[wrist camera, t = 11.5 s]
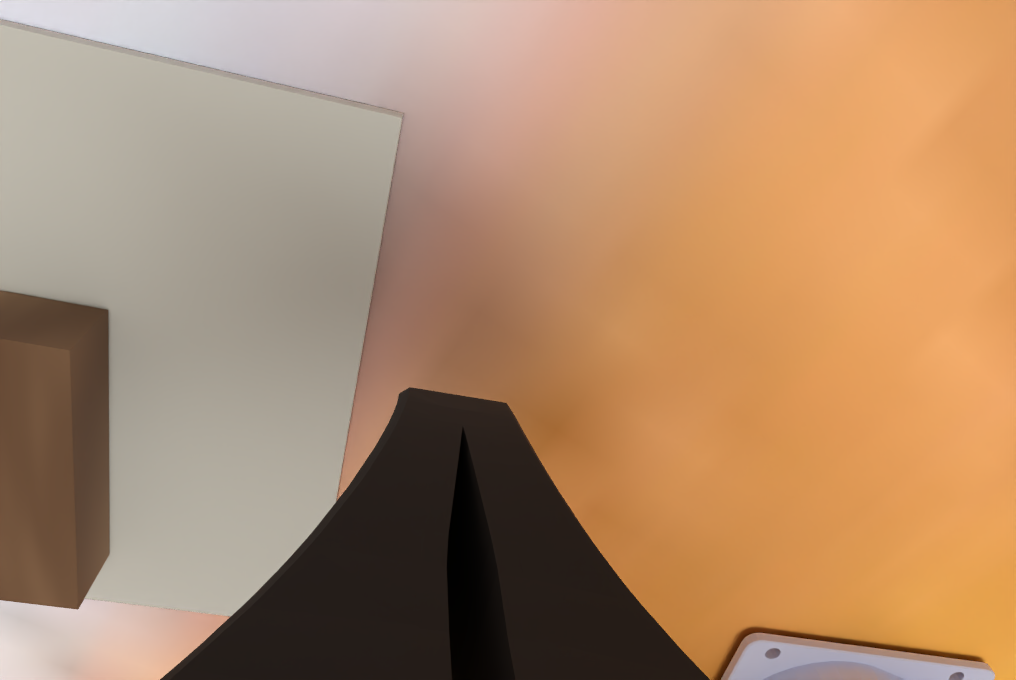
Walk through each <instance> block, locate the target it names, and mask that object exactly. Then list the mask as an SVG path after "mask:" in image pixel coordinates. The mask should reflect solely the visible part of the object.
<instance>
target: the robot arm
mask: <svg viewBox="0 0 1016 680" xmlns="http://www.w3.org/2000/svg"><path fill="white" fill-rule="evenodd" d="M994 678H995V673H994V672H993V671H992V669H991V668H990V666H989V665H988V664H986V663H983V662H976V661H969V660H961V659H954V658H946V657H939V656H931V655H924V654H916V653H909V652H901V651H894V650H886V649H879V648H871V647H864V646H856V645H849V644H841V643H834V642H826V641H819V640H811V639H804V638H796V637H789V636H781V635H774V634H766V633H753V634H750V635H748V636H746V637H745V638H744V639H743V641H742V642H741V644H740V646H739V647H738V649H737V651H736V653H735V655H734V656H733V658H732V660H731V662H730V664H729V665H728V667H727V669H726V671H725V673H724V675H723V676H722V678H721V680H994ZM160 680H710V679H709V678H708V677H707V676H706V675H705V674H704V673H703V672H702V671H701V670H700V669H699V668H698V667H697V666H696V665H695V664H694V663H693V662H692V661H691V660H690V658H689V657H688V656H687V655H686V654H685V653H684V652H683V651H682V650H681V649H680V648H679V647H678V645H677V644H676V643H675V642H674V641H673V640H672V639H671V638H670V636H669V635H668V634H667V633H666V632H665V631H664V630H663V629H662V627H661V626H660V625H659V624H658V623H657V622H656V621H655V620H654V618H653V617H652V616H651V615H650V614H649V613H648V612H647V610H646V609H645V608H644V607H643V606H642V605H641V604H640V603H639V601H638V600H637V599H636V598H635V596H634V595H633V594H632V593H631V592H630V590H629V589H628V588H627V587H626V585H625V584H624V583H623V582H622V580H621V579H620V578H619V577H618V575H617V574H616V573H615V571H614V570H613V569H612V567H611V566H610V565H609V563H608V562H607V561H606V559H605V558H604V557H603V555H602V554H601V553H600V551H599V550H598V549H597V547H596V546H595V544H594V543H593V542H592V540H591V539H590V537H589V536H588V534H587V533H586V532H585V530H584V529H583V527H582V526H581V524H580V523H579V521H578V520H577V518H576V517H575V515H574V514H573V512H572V511H571V509H570V508H569V506H568V505H567V503H566V502H565V500H564V498H563V497H562V495H561V494H560V492H559V491H558V489H557V488H556V486H555V484H554V483H553V481H552V480H551V478H550V476H549V475H548V473H547V472H546V470H545V468H544V466H543V465H542V463H541V461H540V460H539V458H538V456H537V455H536V453H535V451H534V449H533V448H532V446H531V444H530V443H529V441H528V439H527V437H526V435H525V434H524V432H523V430H522V428H521V427H520V425H519V423H518V421H517V419H516V418H515V416H514V414H513V412H512V411H511V409H510V408H509V406H508V405H507V403H503V402H497V401H490V400H484V399H478V398H472V397H466V396H460V395H453V394H447V393H441V392H435V391H429V390H422V389H416V388H408V389H406V390H405V391H403V392H401V393H400V394H399V397H398V402H397V405H396V407H395V410H394V413H393V415H392V417H391V419H390V421H389V423H388V425H387V427H386V429H385V431H384V432H383V434H382V436H381V438H380V439H379V441H378V443H377V445H376V446H375V448H374V450H373V451H372V452H371V454H370V455H369V457H368V458H367V460H366V461H365V463H364V464H363V466H362V467H361V469H360V470H359V472H358V473H357V475H356V476H355V478H354V479H353V481H352V482H351V484H350V485H349V486H348V488H347V489H346V490H345V492H344V493H343V494H342V495H341V497H340V498H339V499H338V500H337V502H336V503H335V504H334V505H333V507H332V508H331V509H330V510H329V512H328V513H327V514H326V515H325V517H324V518H323V519H322V520H321V522H320V523H319V524H318V525H317V527H316V528H315V529H314V530H313V532H312V533H311V534H310V535H309V536H308V538H307V539H306V540H305V541H304V542H303V543H302V544H301V545H300V547H299V548H298V549H297V550H296V551H295V552H294V553H293V554H292V556H291V557H290V558H289V559H288V560H287V561H286V562H285V563H284V564H283V565H282V566H281V567H280V569H279V570H278V571H277V572H276V573H275V574H274V575H273V576H272V577H271V578H270V579H269V580H268V581H267V582H266V583H265V584H264V585H263V586H262V587H261V588H260V589H259V590H258V591H257V592H256V593H255V594H254V595H253V596H252V597H251V598H250V599H249V600H248V601H247V602H246V603H245V604H244V605H243V606H242V607H241V608H240V609H238V610H237V611H236V612H235V613H234V614H233V615H232V616H231V617H230V618H229V619H228V620H227V621H226V622H225V623H223V624H222V625H221V626H220V627H219V628H218V629H217V630H216V631H215V632H214V633H213V634H212V635H211V636H209V637H208V638H207V639H206V640H205V641H204V642H203V643H202V644H201V645H200V646H199V647H197V648H196V649H195V650H194V651H193V652H192V653H191V654H189V655H188V656H187V657H186V658H185V659H184V660H183V661H181V662H180V663H179V664H178V665H177V666H176V667H174V668H173V669H172V670H171V671H170V672H169V673H167V674H166V675H165V676H164V677H163V678H161V679H160Z"/></svg>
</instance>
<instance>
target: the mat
mask: <svg viewBox="0 0 1016 680" xmlns="http://www.w3.org/2000/svg"><path fill="white" fill-rule="evenodd" d="M403 114H404V113H401V112H397V111H393V110H388V109H384V108H380V107H375V106H371V105H367V104H362V103H358V102H354V101H350V100H345V99H341V98H337V97H332V96H328V95H324V94H319V93H315V92H311V91H307V90H302V89H298V88H294V87H289V86H285V85H281V84H277V83H272V82H268V81H264V80H259V79H255V78H251V77H246V76H242V75H238V74H234V73H229V72H225V71H221V70H216V69H212V68H208V67H203V66H199V65H195V64H191V63H186V62H182V61H178V60H173V59H169V58H165V57H161V56H156V55H152V54H148V53H143V52H139V51H135V50H130V49H126V48H122V47H118V46H113V45H109V44H105V43H100V42H96V41H92V40H87V39H83V38H79V37H75V36H70V35H66V34H62V33H57V32H53V31H49V30H45V29H40V28H36V27H32V26H27V25H23V24H19V23H14V22H10V21H6V20H2V19H0V290H1V291H6V292H12V293H17V294H23V295H28V296H34V297H39V298H45V299H51V300H56V301H62V302H67V303H73V304H78V305H84V306H89V307H95V308H101V309H106V310H108V357H109V549H110V554H109V556H108V558H107V560H106V561H105V563H104V565H103V567H102V568H101V570H100V572H99V574H98V575H97V577H96V579H95V581H94V582H93V584H92V586H91V588H90V589H89V591H88V593H87V595H86V596H85V598H84V599H92V600H100V601H109V602H117V603H125V604H133V605H141V606H150V607H158V608H166V609H174V610H182V611H190V612H199V613H207V614H215V615H223V616H232V615H233V614H234V613H235V612H236V611H237V610H238V609H240V608H241V607H242V606H243V605H244V604H245V603H246V602H247V601H248V600H249V599H250V598H251V597H252V596H253V595H254V594H255V593H256V592H257V591H258V590H259V589H260V588H261V587H262V586H263V585H264V584H265V583H266V582H267V581H268V580H269V579H270V578H271V577H272V576H273V575H274V574H275V573H276V572H277V571H278V570H279V569H280V567H281V566H282V565H283V564H284V563H285V562H286V561H287V560H288V559H289V558H290V557H291V556H292V554H293V553H294V552H295V551H296V550H297V549H298V548H299V547H300V545H301V544H302V543H303V542H304V541H305V540H306V539H307V538H308V536H309V535H310V534H311V533H312V532H313V530H314V529H315V528H316V527H317V525H318V524H319V523H320V522H321V520H322V519H323V518H324V517H325V515H326V514H327V513H328V512H329V510H330V509H331V508H332V507H333V505H334V504H335V503H336V500H337V495H338V489H339V483H340V477H341V471H342V466H343V460H344V454H345V448H346V443H347V437H348V431H349V425H350V420H351V414H352V408H353V402H354V396H355V391H356V385H357V379H358V373H359V368H360V362H361V356H362V350H363V344H364V339H365V333H366V327H367V321H368V316H369V310H370V304H371V298H372V293H373V287H374V281H375V275H376V269H377V264H378V258H379V252H380V246H381V241H382V235H383V229H384V223H385V218H386V212H387V206H388V200H389V194H390V189H391V183H392V177H393V171H394V166H395V160H396V154H397V148H398V142H399V137H400V131H401V125H402V119H403Z"/></svg>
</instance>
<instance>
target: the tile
mask: <svg viewBox="0 0 1016 680" xmlns="http://www.w3.org/2000/svg"><path fill="white" fill-rule="evenodd" d="M109 554H110V549H109V357H108V310H106V309H101V308H95V307H89V306H84V305H78V304H73V303H67V302H62V301H56V300H51V299H45V298H39V297H34V296H28V295H23V294H17V293H12V292H6V291H1V290H0V600H4V601H13V602H21V603H29V604H38V605H46V606H54V607H63V608H71V609H79V607H80V605H81V603H82V602H83V600H84V598H85V596H86V595H87V593H88V591H89V589H90V588H91V586H92V584H93V582H94V581H95V579H96V577H97V575H98V574H99V572H100V570H101V568H102V567H103V565H104V563H105V561H106V560H107V558H108V556H109Z"/></svg>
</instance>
